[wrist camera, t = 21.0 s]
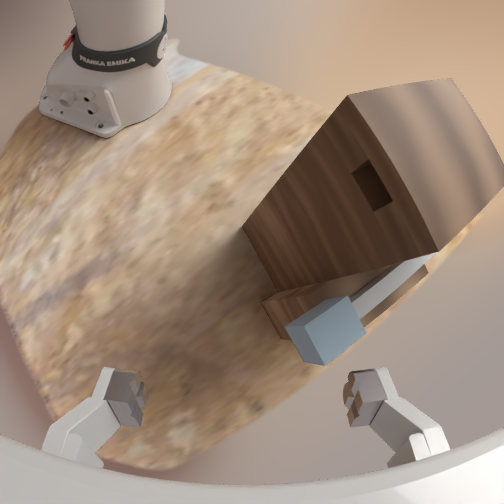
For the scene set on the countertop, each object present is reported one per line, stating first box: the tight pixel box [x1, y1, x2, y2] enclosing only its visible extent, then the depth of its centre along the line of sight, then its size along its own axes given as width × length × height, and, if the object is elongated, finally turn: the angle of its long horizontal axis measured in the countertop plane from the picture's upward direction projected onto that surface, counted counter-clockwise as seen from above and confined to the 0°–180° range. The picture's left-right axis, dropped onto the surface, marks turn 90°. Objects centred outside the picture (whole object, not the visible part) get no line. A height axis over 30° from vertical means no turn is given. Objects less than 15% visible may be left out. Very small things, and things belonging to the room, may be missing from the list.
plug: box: [285, 253, 435, 366], centre depth 27 cm, size 20×4×4 cm, turn 120°
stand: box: [242, 78, 504, 341], centre depth 30 cm, size 17×16×28 cm
